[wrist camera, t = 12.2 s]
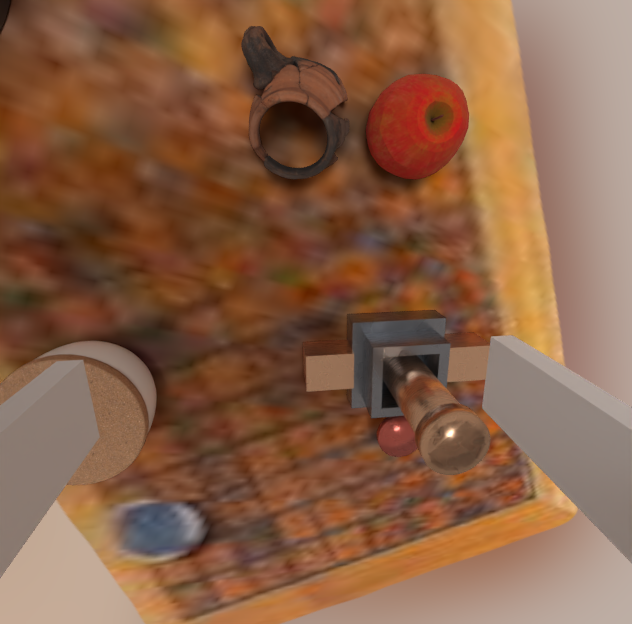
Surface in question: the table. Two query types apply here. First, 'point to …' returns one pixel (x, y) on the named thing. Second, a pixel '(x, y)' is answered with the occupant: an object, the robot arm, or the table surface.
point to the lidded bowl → (103, 403)
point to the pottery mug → (292, 97)
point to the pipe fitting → (436, 417)
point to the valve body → (387, 341)
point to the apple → (417, 125)
